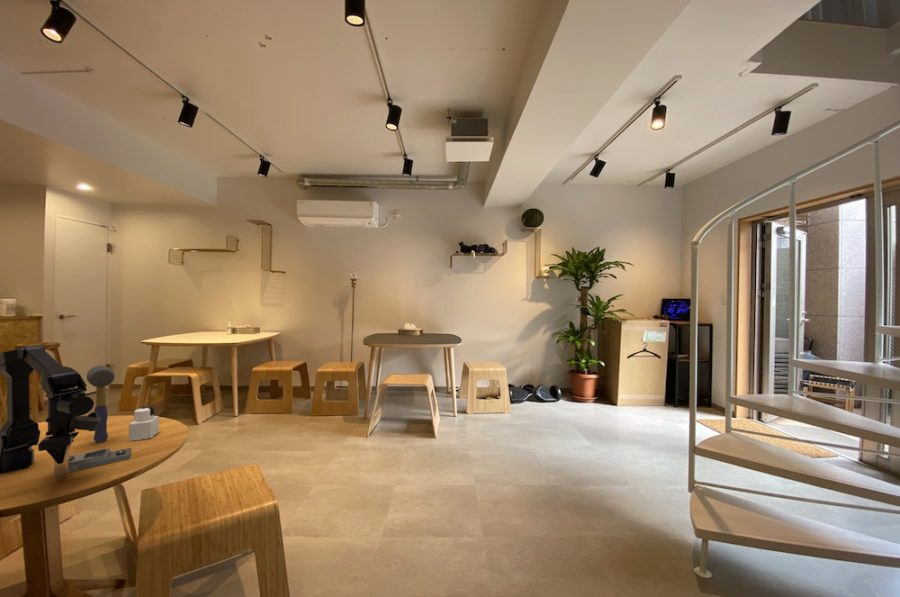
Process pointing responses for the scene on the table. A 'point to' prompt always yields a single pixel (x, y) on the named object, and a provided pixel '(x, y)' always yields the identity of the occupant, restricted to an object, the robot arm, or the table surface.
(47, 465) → the table surface
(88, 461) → the slotted metal plate
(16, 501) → the table surface
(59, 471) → the pin
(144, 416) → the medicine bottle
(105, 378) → the rubber mallet
